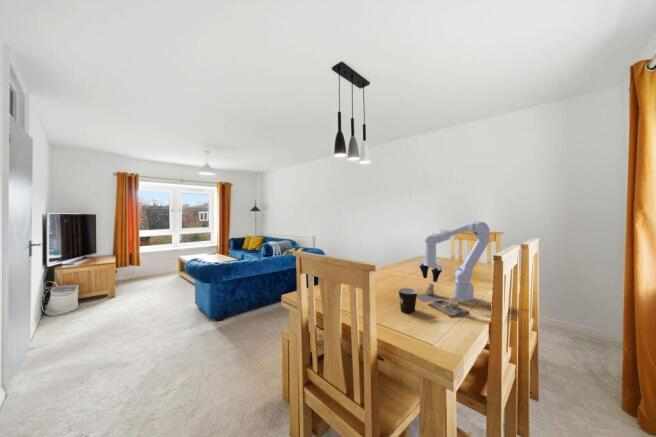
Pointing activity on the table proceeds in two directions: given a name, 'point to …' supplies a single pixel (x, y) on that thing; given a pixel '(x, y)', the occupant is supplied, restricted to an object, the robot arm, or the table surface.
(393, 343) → the table surface
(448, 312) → the brown compartment tray
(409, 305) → the coffee mug
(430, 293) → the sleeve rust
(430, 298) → the mat
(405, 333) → the table surface
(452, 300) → the cream teal cylinder
